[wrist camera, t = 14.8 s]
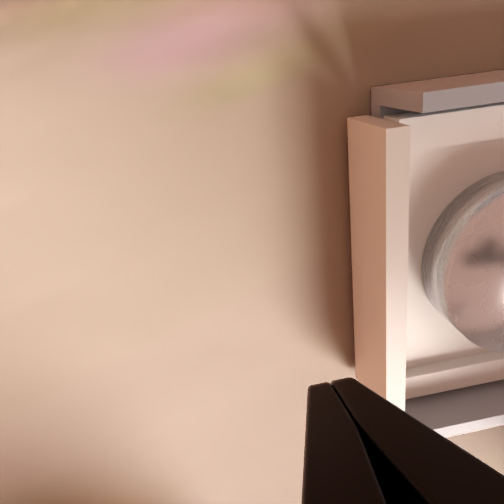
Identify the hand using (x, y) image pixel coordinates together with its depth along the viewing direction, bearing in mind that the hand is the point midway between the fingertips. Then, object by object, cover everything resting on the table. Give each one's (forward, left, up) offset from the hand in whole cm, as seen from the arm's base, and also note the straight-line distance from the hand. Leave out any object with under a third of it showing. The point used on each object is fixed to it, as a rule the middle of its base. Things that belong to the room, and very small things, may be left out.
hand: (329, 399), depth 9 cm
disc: (-10, -2, -9) cm, 14 cm away
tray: (-10, -2, -11) cm, 15 cm away
